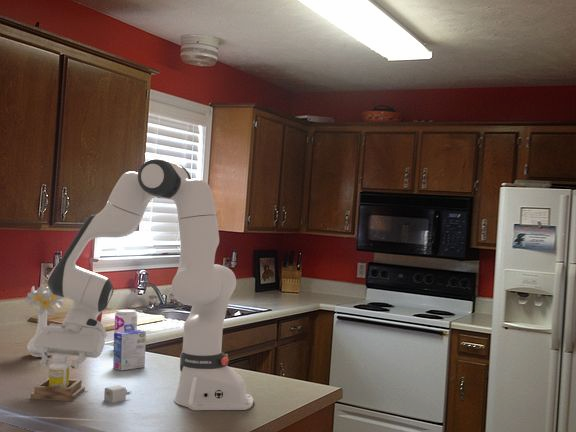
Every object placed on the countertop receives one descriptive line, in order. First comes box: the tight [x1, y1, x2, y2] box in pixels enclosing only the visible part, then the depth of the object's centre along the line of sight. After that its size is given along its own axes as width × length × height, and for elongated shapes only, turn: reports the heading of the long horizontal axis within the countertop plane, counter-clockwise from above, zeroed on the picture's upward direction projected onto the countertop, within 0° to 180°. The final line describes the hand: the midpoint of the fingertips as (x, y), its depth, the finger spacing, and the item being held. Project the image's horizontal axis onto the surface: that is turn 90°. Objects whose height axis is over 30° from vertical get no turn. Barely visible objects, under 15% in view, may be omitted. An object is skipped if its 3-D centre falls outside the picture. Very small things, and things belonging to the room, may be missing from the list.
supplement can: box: [113, 308, 138, 334], centre depth 261 cm, size 8×8×15 cm
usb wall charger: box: [103, 384, 132, 404], centre depth 194 cm, size 4×7×4 cm, turn 140°
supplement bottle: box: [48, 354, 70, 388], centre depth 195 cm, size 5×5×10 cm
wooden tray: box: [29, 377, 86, 401], centre depth 195 cm, size 12×10×3 cm
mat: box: [26, 390, 89, 402], centre depth 195 cm, size 14×11×1 cm
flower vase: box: [23, 283, 65, 358], centre depth 244 cm, size 13×18×25 cm
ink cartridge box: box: [112, 324, 147, 372], centre depth 233 cm, size 10×6×14 cm, turn 137°
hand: (58, 366), depth 195 cm, fingers open, 8 cm apart
